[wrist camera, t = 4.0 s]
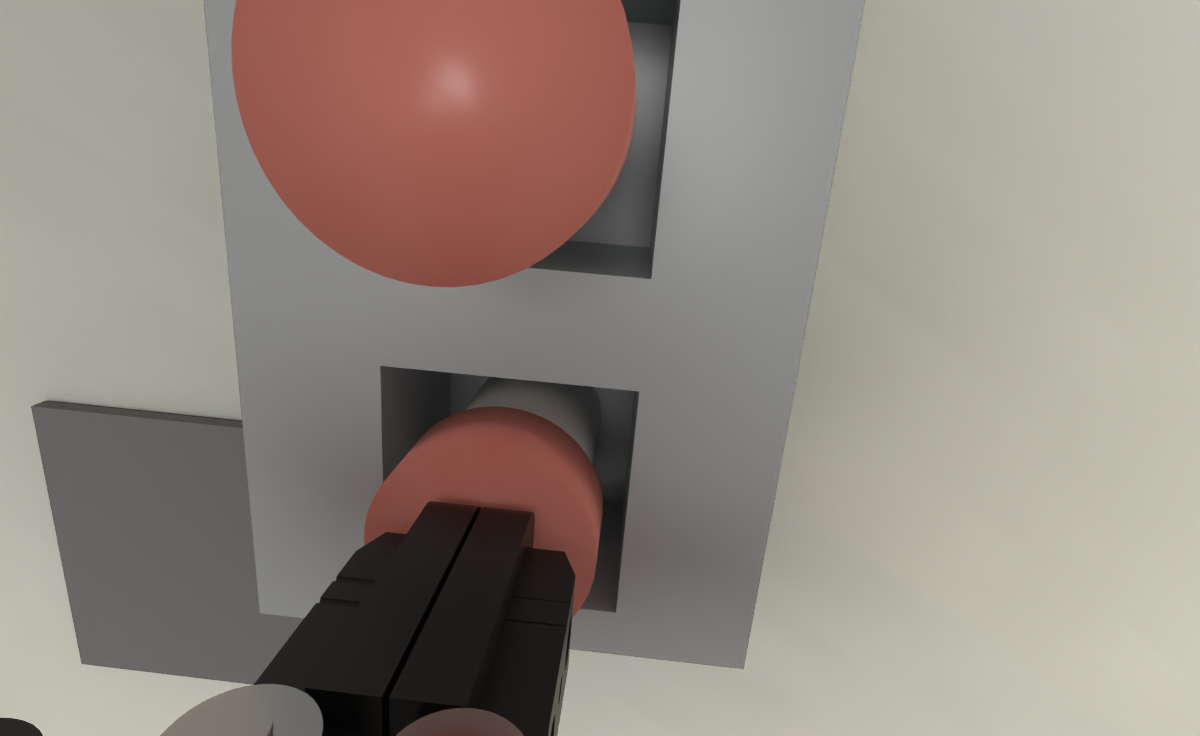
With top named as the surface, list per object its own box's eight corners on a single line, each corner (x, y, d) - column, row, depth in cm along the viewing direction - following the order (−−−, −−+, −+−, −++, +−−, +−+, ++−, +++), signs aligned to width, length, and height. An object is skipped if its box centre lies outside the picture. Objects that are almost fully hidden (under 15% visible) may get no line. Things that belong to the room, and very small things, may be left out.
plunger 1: (434, 2, 10) (212, -172, 5) (650, 18, 10) (655, -144, 5) (434, 221, 11) (249, 269, 6) (629, 239, 11) (614, 303, 6)
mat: (45, 400, 17) (31, 406, 16) (348, 432, 16) (341, 438, 16) (92, 653, 19) (81, 663, 19) (357, 685, 19) (352, 696, 18)
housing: (336, -624, 11) (87, -1258, 6) (887, -603, 10) (1094, -1261, 6) (368, 487, 17) (259, 613, 12) (715, 524, 16) (743, 668, 12)
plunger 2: (466, 334, 14) (360, 432, 9) (620, 349, 14) (606, 457, 9) (463, 474, 15) (366, 636, 10) (607, 489, 15) (587, 662, 10)
